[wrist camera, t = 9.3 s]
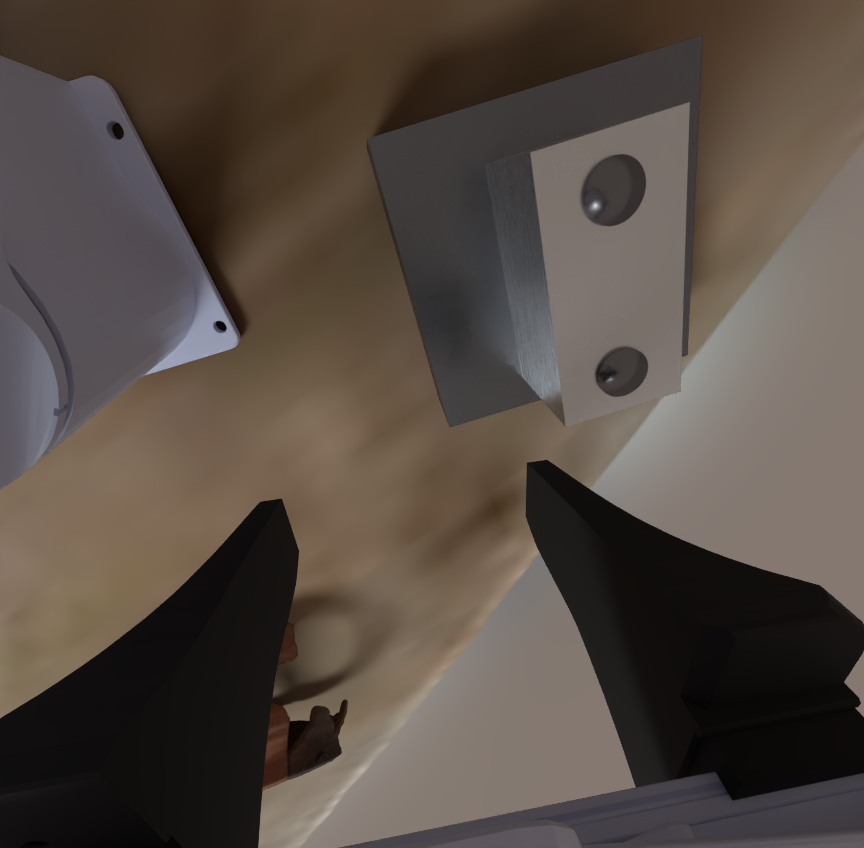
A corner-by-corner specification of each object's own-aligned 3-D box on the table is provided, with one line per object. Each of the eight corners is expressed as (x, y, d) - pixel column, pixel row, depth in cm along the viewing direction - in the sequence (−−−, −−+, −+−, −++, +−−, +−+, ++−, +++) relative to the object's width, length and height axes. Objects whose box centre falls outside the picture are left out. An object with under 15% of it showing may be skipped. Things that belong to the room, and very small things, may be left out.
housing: (611, 348, 18) (683, 393, 14) (521, 376, 18) (567, 429, 14) (599, 128, 14) (694, 100, 10) (484, 164, 14) (532, 151, 10)
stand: (366, 147, 16) (367, 138, 13) (646, 61, 16) (702, 34, 13) (439, 399, 21) (449, 427, 19) (647, 335, 21) (687, 355, 19)
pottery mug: (337, 604, 28) (363, 753, 24) (326, 631, 35) (345, 748, 31) (120, 661, 23) (107, 858, 19) (159, 678, 31) (156, 824, 27)
